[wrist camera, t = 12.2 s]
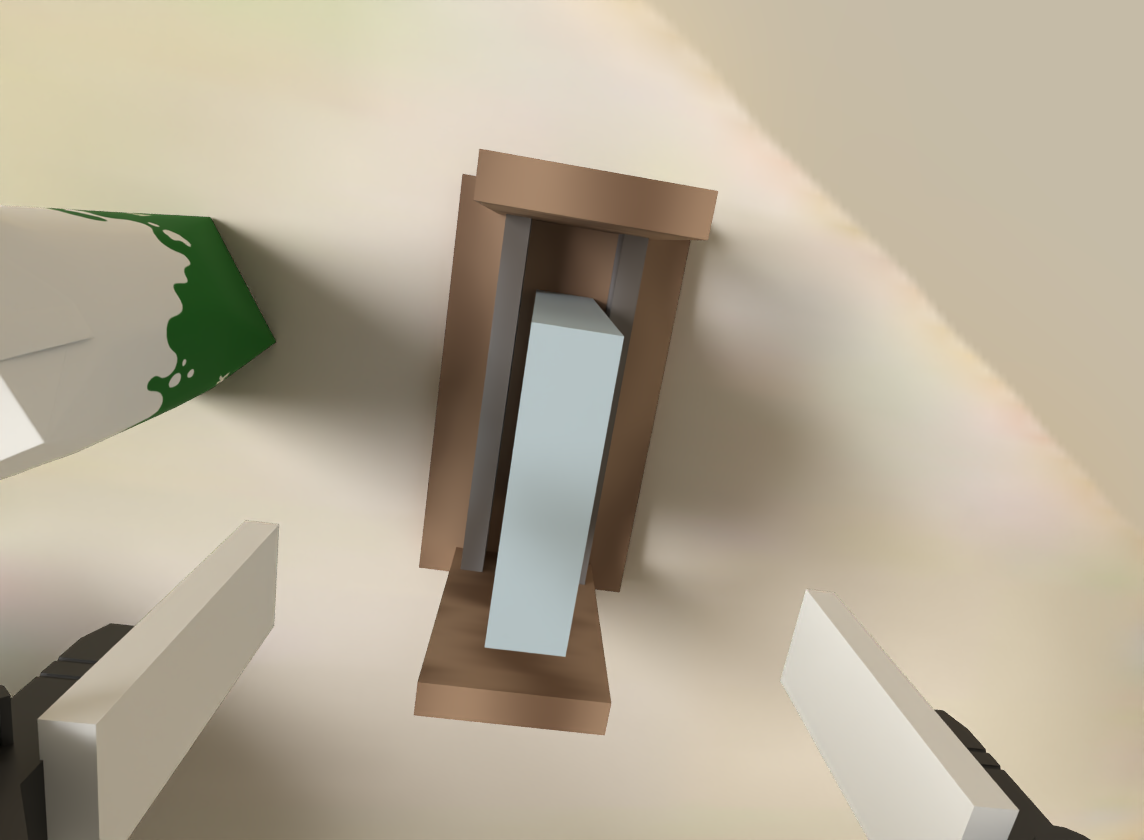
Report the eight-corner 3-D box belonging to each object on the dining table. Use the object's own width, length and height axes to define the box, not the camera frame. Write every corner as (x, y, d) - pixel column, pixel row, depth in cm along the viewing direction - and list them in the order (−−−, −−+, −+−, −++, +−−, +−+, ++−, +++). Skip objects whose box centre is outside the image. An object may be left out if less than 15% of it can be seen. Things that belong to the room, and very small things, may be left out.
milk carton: (217, 192, 34) (-220, 130, 14) (300, 353, 36) (22, 485, 17) (68, 257, 34) (-547, 280, 15) (160, 410, 37) (-268, 602, 17)
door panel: (506, 499, 37) (484, 647, 24) (536, 289, 34) (531, 322, 21) (557, 506, 37) (565, 656, 24) (592, 298, 34) (624, 336, 21)
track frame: (423, 555, 40) (364, 710, 27) (466, 176, 34) (417, 137, 21) (616, 579, 41) (650, 740, 28) (689, 215, 35) (775, 201, 22)
